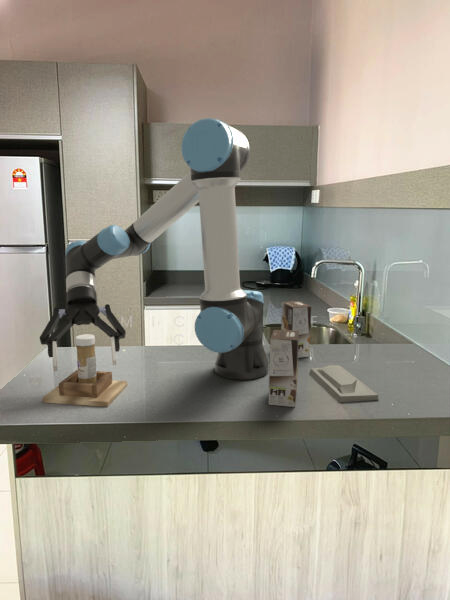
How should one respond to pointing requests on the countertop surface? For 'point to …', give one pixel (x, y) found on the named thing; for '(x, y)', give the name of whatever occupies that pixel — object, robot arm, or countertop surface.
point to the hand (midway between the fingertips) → (85, 365)
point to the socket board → (86, 390)
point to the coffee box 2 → (283, 367)
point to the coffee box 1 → (298, 323)
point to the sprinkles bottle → (86, 358)
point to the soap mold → (342, 384)
